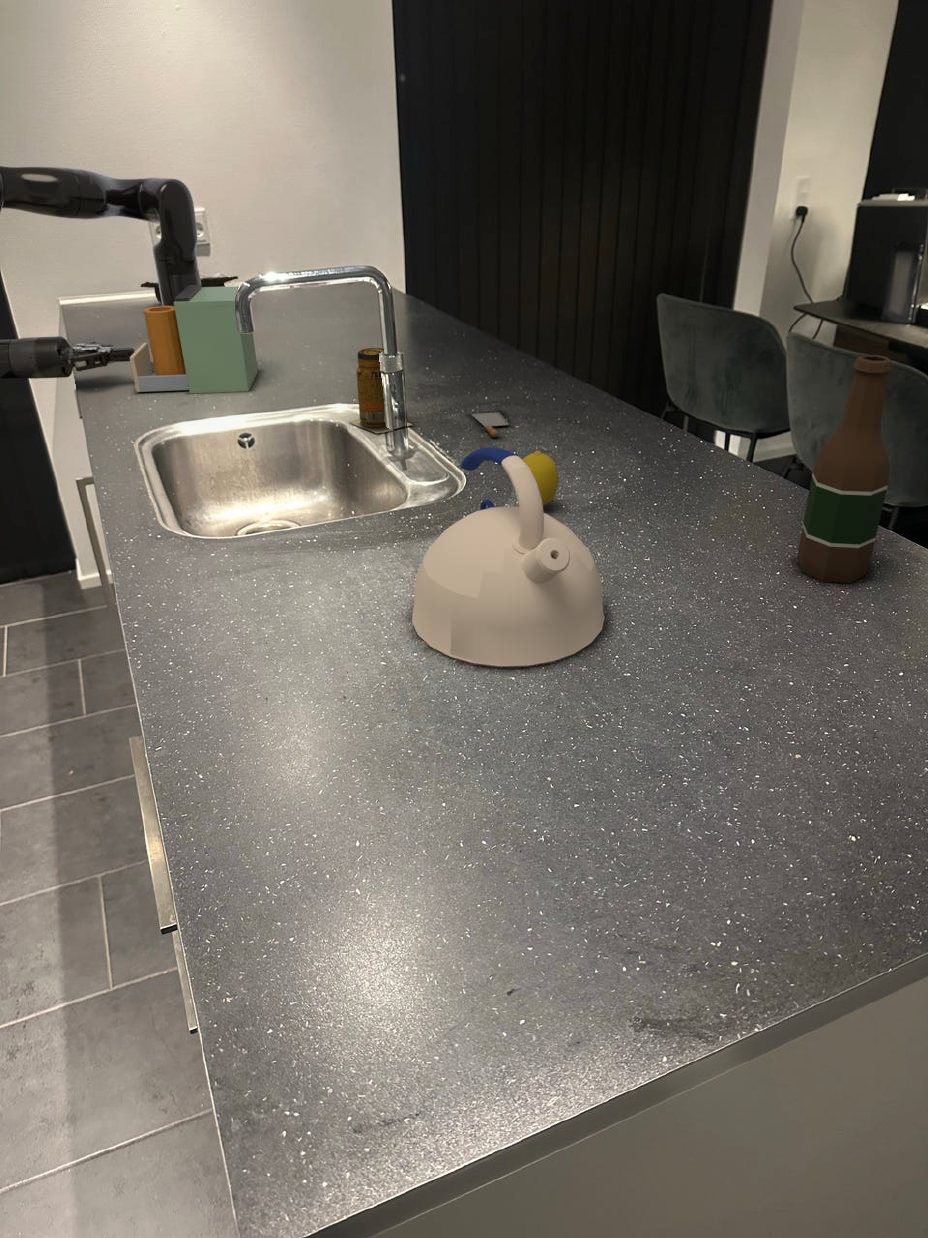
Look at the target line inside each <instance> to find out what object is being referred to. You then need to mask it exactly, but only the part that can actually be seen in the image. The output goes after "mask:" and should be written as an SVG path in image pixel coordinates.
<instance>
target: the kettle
mask: <svg viewBox="0 0 928 1238" xmlns="http://www.w3.org/2000/svg"><path fill="white" fill-rule="evenodd" d="M486 461H487V462H488V461H491V462H493V463H495V464H497V465H499V466H501V468H502V467H503V469H504V471H505V472H506V474H507V475H508V477H509V479H510V481H511V483H512V485H513V488H514V491H515V495H516V499H517V503H518V506H494V503H493V502H492V501H491V500H490V499H485V500H482V501H481V503H480V506H479V510H476V511H474V512H472V513H470V514H467V515H466V516H464V517H462V518H461V519H459V520H458V521H456V522H454V523H453V524H451V525H450V526H448V528H446V529H445V530H444V531H443V532H442V533H441V534H440V535H439V536H438V537H437V538H436V539H435V541H434V542H433V543H432V544H431V545H430V546H429V548H428V549H427V551H426V553H425V554H424V556H423V558H422V561H421V563H420V565H419V568H418V570H417V573H416V575H415V581H414V598H413V600H414V601H413V609H412V618H411V619H412V620H411V622H412V625H413V627H414V629H415V631H416V633H417V635H418V637H420V638H421V639H422V640H423V641H424V642H425V643H426V644H427V645H428V646H429V647H431V648H432V649H434V650H436V651H437V652H439V653H442V654H443V655H445V656H447V657H449V658H452V659H453V660H458V661H462V662H465V663H467V664H468V663H469V664H472V665H477V666H484V667H491V668H492V667H493V668H528V667H533V666H539V665H546V664H551V663H555V662H556V661H560V660H562V659H565V658H568V657H571V656H573V655H575V654H576V653H577V652H579V651H581V650H583V649H584V648H585V647H587V646H589V645H590V644H592V643H593V641H595V639H596V638H597V637H598V635H599V634H600V633H601V632H602V631H603V627H604V621H605V614H604V595H603V594H604V593H603V592H604V591H603V582H602V579H601V575H600V573H599V568H598V567H597V564H596V562H595V560H594V557H593V555H592V552H591V551H590V549H588V547H587V546H586V545H585V544H584V543H583V542H582V540H581V539H580V538H579V537H578V536H577V535H576V533H575V532H573V530H572V529H571V528H570V527H568V526H566V525H565V524H563V523H562V522H560V521H559V520H557V519H556V518H554V517H552V516H551V515H549V514H548V513H546V512H544V505H543V504H542V499H541V495H540V492H539V488H538V485H537V482H536V480H535V478H534V476H533V474H532V472H531V469H530V468H529V467H528V466H527V465H526V464H525V462H524V461H523V458H521V456H520V455H519V454H517V453H514V452H513V451H511V450H508V449H504V448H500V447H495V446H491V447H490V446H489V447H481V448H478V449H476V450H473V451H471V452H470V453H469V454H468V455H466V456H465V457H464V459H463V460H462V462H461V463H460V468H461V469H462V470H464V471H468V472H470V471H476V470H477V469H479V467H480V466H481V465H482V464H483V463H484V462H486Z"/></svg>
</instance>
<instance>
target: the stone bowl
mask: <svg viewBox="0 0 928 1238" xmlns="http://www.w3.org/2000/svg"><path fill="white" fill-rule="evenodd" d="M238 279H239V275H238V276H236V275H235V276H222V277H221V276H216V277H211V276H210V277H209V276H208V277H200V280H201V286H202V287H226V283H228V282H232V281H233V280H238ZM140 288H148V289H149V288H150V289H153V290H154V294H155V298H156V300H157V302H158V303H159V304H162V300H161V295H160V289H159V284H158V282H153V281H152V282H150V281H146V282H143V283H141V284H140Z"/></svg>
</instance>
